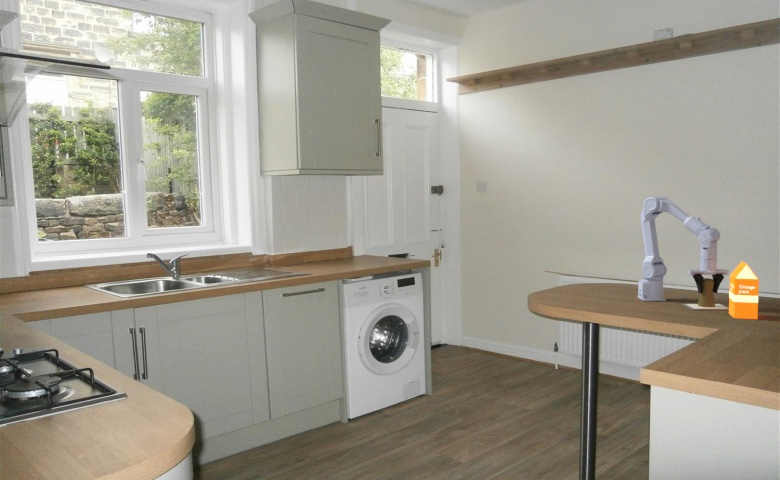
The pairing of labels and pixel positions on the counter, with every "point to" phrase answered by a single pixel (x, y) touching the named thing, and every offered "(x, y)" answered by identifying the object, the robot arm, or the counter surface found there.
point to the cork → (707, 294)
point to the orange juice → (743, 293)
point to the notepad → (696, 307)
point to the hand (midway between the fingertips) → (707, 292)
